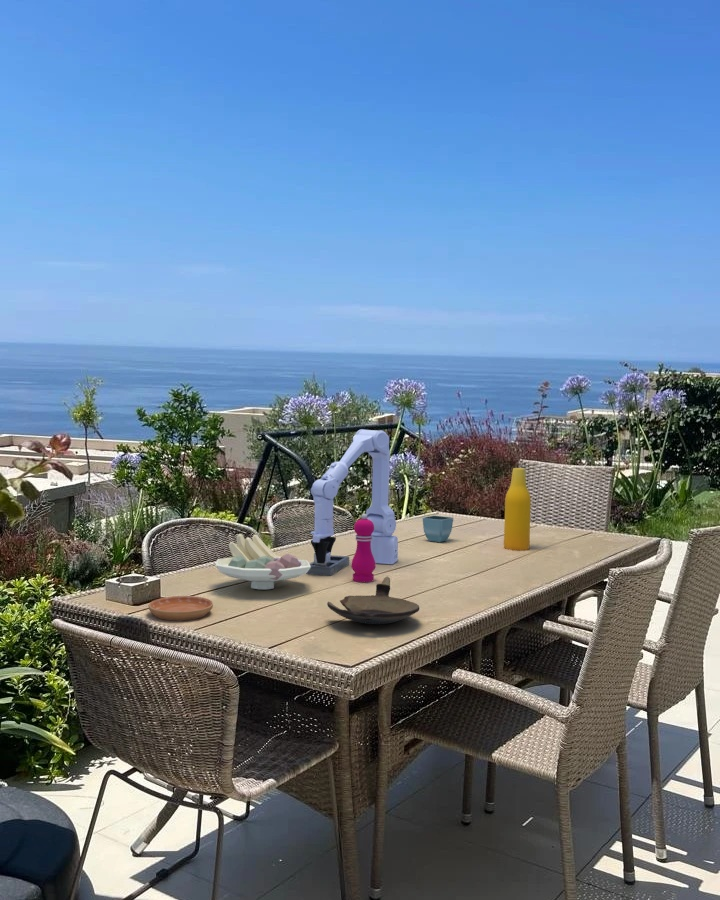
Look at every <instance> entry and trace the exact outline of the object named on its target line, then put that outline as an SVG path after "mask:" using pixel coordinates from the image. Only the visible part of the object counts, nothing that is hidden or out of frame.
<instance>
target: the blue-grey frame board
mask: <svg viewBox="0 0 720 900" xmlns="http://www.w3.org/2000/svg"><path fill="white" fill-rule="evenodd" d="M309 564H310V566H311V568H310V569H309V571H308V572H307V573H306V574H305V575H314V576H315V575H316V576H324V577H325V576H327V577H331V576H332V575H334V574H336V573H337V572H340V571H341V570H342V569H344V568H345V567H347V566H349V565H350V556H344V555H331V554H330V566H316V565H314V561H312V562H309Z"/></svg>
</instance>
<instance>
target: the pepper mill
mask: <svg viewBox="0 0 720 900" xmlns="http://www.w3.org/2000/svg"><path fill="white" fill-rule="evenodd" d="M353 529H354V532H355V533H356V535H355V541H356V549H355V553H354V555H353V558H352V560H351V569H352V571H353V574H352V581H353V582H356V583H357V582H358V583H370V582H374V580H375V579H374V577H375V574H374V573H373V572H374V571H375V569H376V563H375V560H374V557H373V555H372V551H371V540H372V535H371V534H372V533H373V531H374V524H373V522H372V521H370V520H368V519H367V515H366V513H362V514H361V517H360V519H358V520H356V522H355V523H354V525H353Z"/></svg>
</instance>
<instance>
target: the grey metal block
mask: <svg viewBox="0 0 720 900" xmlns="http://www.w3.org/2000/svg"><path fill="white" fill-rule="evenodd" d="M330 555H331V554H330V552H327V551H326V557H325V562H324V563H317V559H316V555H315V552H314V553H313V562H314V565H316V566H330Z"/></svg>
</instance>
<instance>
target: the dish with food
mask: <svg viewBox="0 0 720 900" xmlns="http://www.w3.org/2000/svg"><path fill="white" fill-rule="evenodd" d="M228 548H229V551H230V553H231V557H225V558H224V557H223V558H218V559H216V562H215V567H216V569H217V570H218V572H219V573H221V574H223V575H225V576H227V577H230V578H233V579H238V580H239V579H240V580H244V581H250V582H251V583H250V584H251V585H250V588H251V589H255V590H271V589H274V588H275V582H278V581H280V582H281V581H284V580H285V581H286V580H290V579H296V578H299V577H301V576H304V575H307V574H306V573H307V572H308V571H309V569H310V568H311V566H310V562H309V560H307V559H302V558H301V559H300V558H297V557H296V556H295V555H293V554H291V553H285V554H284V555H282V556H281V555H280V556H278V555H276V554H275V553H274V552H273V551H272V550H271V549H270V548H269V547H268V546H267V545H266V543H265V542H263V540H262V539H261V538H260V537H259V535H257V534H253V536H252V538H250V537H246V538H245V537H244V535H243V534H242V533H239V534H238V535H236V543H235V542H233V541H229V544H228Z"/></svg>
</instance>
